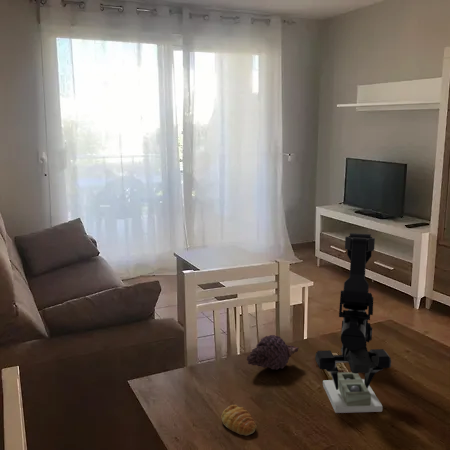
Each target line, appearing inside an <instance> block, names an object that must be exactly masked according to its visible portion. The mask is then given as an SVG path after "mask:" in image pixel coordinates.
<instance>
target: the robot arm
mask: <svg viewBox="0 0 450 450" xmlns="http://www.w3.org/2000/svg"><path fill="white" fill-rule="evenodd" d="M375 242H376V238H375V237H372V234H371V233H360V232H359V233H358V232H356V233H354V232H349V235H348V236H345V237H344V250H347V251H346V252H347V253H346V254H347V255H346V256H347V258H348V259H349V261H350V264H349V265H350V266H349V274H348V276H349V277H348V278H347V279H346V280H345V281H344V282H343V290H340V296H339V299H340V300H339V307H338V308H339V311H338V318H343V319H342V320H341V334H340V342H341V345H342V346H341V348H340V351H341V354H335V355H334V354H333V353H332V352H333V351H332V350H317V351H316V353H315V360H314V361H316V362H315V363H317V366H318V368H319V370H323V371H324V370H325V371H326V372H328V373H330V375H331V378H332V379H331V380H333V382H334V385H335V388H336V390H338V373H339V369H338V367H337V364H340V363H341V364H343V363H347V364H348V367H349V369H350V372H352V373H355V374H357V373H358V374H364V379H365V380H364V383H365V386H366V387H367V389H368V387H369V386H370V384H371V383H372V380H373V378H374V377H375V375H376V374H377V373H378V372H379V371H383V370H384V369H388V368H389V369H390V368H391V367H392V359H391V357H390V356H389V354H388V353H387V351H386V350H385V349H384V348H380V349H379V348H375V349H370V350H369V351H368V348H367V343H370V342H371V341H372V338H373V336H372V335H373V327H372V326H371V323H370V322H369V321H370V320H371V316H373V315H374V314H373V313H374V297H373V294H372V292H369V288H370V287H369V286H370V284H369V282H368V281H367V280H366V267H367V266H366V265H367V263H368V262H369V260H370V259H371V257H372V255H373V254H372V252H374V251H375V244H376V243H375ZM343 308H344V309H343ZM366 310H367V311H366Z"/></svg>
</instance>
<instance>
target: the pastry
mask: <svg viewBox="0 0 450 450" xmlns="http://www.w3.org/2000/svg"><path fill="white" fill-rule="evenodd" d="M220 416H221V417H220V419H221V421H222V424H223V425H224V426H225V427H226V428H227V429H228V430H230V431H232V432H234V433H236V434H239V435H241V436H250V435H252V434H254V433H255V431H256V429H257V427H258V426H257V424H256V421H255V419H254V418H253V415H251V413H250V412H249V410H247V409H246V408H245V407H244V406H238V404H231V405H229V406H227V407H226V408H225V409H224V410H223V411H222V414H221V415H220Z"/></svg>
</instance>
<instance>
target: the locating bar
mask: <svg viewBox="0 0 450 450" xmlns="http://www.w3.org/2000/svg"><path fill="white" fill-rule="evenodd" d="M347 378H350V380H346V379H347ZM362 379H363V378H362V377H361V375H360V373H357V374H355V373H352V372H351V371H349V372H348V371H347V372H345V371H343V372H338V389H339V391H340V393H341V395H342V397H343V399H344V401H345V403H346V405H347V406H369V405H370V404H371V394H370V392H369V391H368V389H367V387H366V386H365V384H364V383H363V381H362ZM352 386H357V387H359V389H360V392H350V389H351V387H352Z"/></svg>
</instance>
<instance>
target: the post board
mask: <svg viewBox="0 0 450 450" xmlns="http://www.w3.org/2000/svg"><path fill="white" fill-rule="evenodd" d="M361 379H362V381H363V383H364V380H365V378H361ZM346 380H350V378H347V379H346ZM364 384H365V383H364ZM322 386H323V390H324V391H325V393H326V395H327V398H328V400H329V401H330V404H331V406H332V408H333V411H334V412H335V414H340V413H341V414H344V413H345V414H346V413H347V414H349V413H374V412H376V413H377V412H378V413H381V412H383V407H384V406H383V405H382V403H381V401H380V400H379V398H378V396H376V394H375V391H373V389H372V387H371V386H370V385H369V387H368V391H369V392H370V394H371V404H370V405H369V406H347V405H346V403H345V401H344V399H343V397H342V395H341V393H340V391H339V389H338V390H336V388H335V385H334V382H333V379H328V380H327V379H326V380H325V379H324V380H322ZM350 392H360V389H359V387H357V386H352V387H351V389H350Z"/></svg>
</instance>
